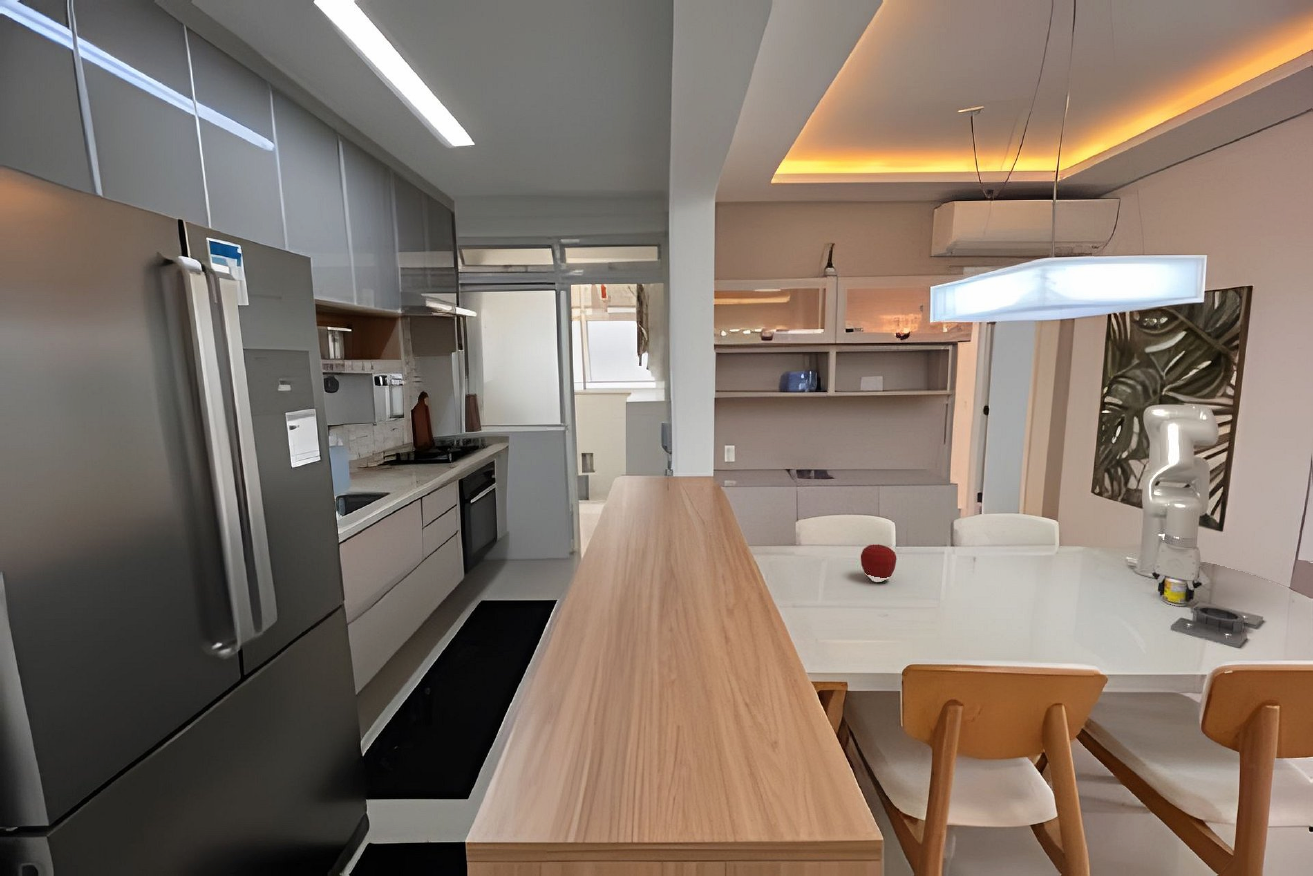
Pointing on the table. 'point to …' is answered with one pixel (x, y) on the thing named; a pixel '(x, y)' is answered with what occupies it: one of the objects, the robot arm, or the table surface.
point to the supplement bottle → (1175, 591)
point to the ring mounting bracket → (1218, 624)
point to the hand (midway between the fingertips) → (1175, 597)
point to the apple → (878, 561)
